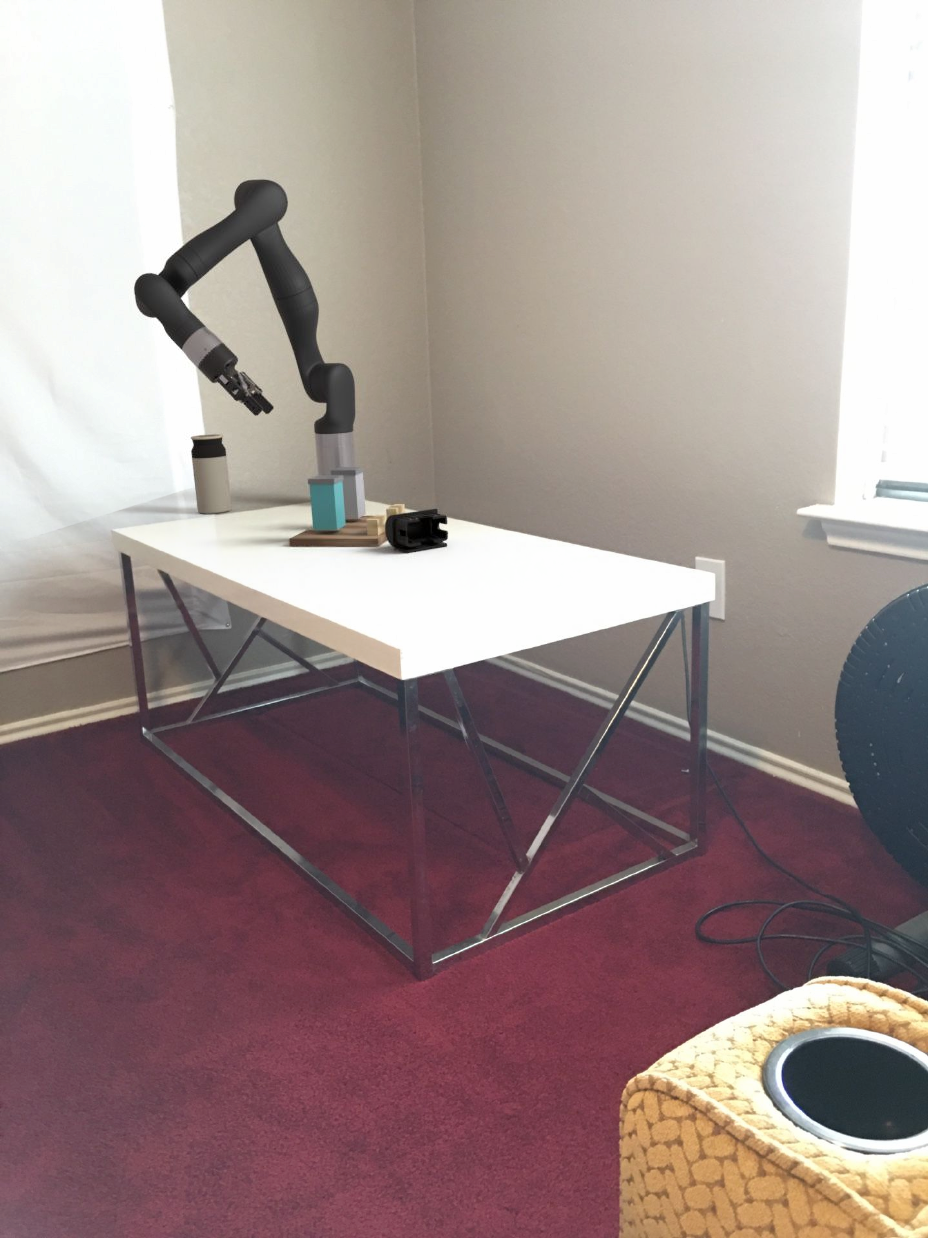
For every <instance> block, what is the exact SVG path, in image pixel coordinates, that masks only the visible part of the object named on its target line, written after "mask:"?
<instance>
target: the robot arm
mask: <svg viewBox="0 0 928 1238" xmlns="http://www.w3.org/2000/svg"><path fill="white" fill-rule="evenodd" d="M233 205H234V208H235V209H234V210H233V211H232V212H231V213H230V214H228V215H227V216H226V217H224V218H223V219H222V220H220V221H218V222H217V223H216V224H214V225H212V226H210V227H209V228H207V229H205V230H204V231H202V232H200V233H199V234H197V235H195V236H194V237H193V238H191V239H189V240H188V241H187V242H186V243H185V244H183V245H182V246H181V247H180V248H179V249H177V250H176V251H175V252H174V253H173V254H172V255H171V256H169V257H168V259H167V260H166V261H165V263H164V265H163V266H164V267H163V269H162V270H161V271H160V272H159V273H158V274H157V273H153V272H147V273H143V274H141V275H140V276H139V277H137V279H136V280H135V283H134V286H133V294H134V298H135V299H134V300H135V304H136V307H137V309H138V310H139V312H140V313H141V314H142V315H144V316H145V317H147V318H151V319H153V318H155V319H157V321H158V322H159V323H160V324H161V325H162V327H163V329H164V332H165V333H166V334H167V336H168V337H169V338H170V339H171V341H172V342H173V343H174V344H175V345H176V346H177V347H178V348H179V349H180V350H181V351H182V352H183V353H184V354H185V356H186V357H187V358H188V360H189V361H190V362H191V363H192V364H193V365H194V366H195V367H196V368H197V369H198V370H199V371H200V372H201V373H202V374H203V375H204V376H205V378H207V380H209V381H210V382H211V383H212V384H217V383H218V384H219V385H220V387H222V388H223V389H224V390H225V391H226V392H227V393H228V394H229V395H230V397H232V398H233V400H234V401H236V402H239V403H240V404H243V405H244V406H245V407H246V408H247V410H249V411H250V413H252V414H253V415H254V416H260V414H261V413H262V412H263V413H264V414H265V415H269V414H270V413H271V412H272V411H273V410H274V405H273V404H272V403H271V402H270V400H268V399H267V398H266V396H264V395H263V388H260V387H259V385H257V384H256V383H255V381H253V380H252V379H251V377H249V376H248V374H246V372H245V371H240V372H239V371H238V370H237V369H236V368H235V367H236V366H237V365H238V361H239V358H238V356H237V355H236V354H235V353H234V352H233V351H232V350H231V349H230V348H229V347H228V346H227V345H226V343H224V342H223V341H222V339H221V338H219V336H218V335H216V334H215V333H214V332H213V331H211V330H210V329H209V328H208V327H207V326H206V325H205V324H204V323H203V322H202V321H201V320H200V319H199V317H197V316H196V315H195V314H194V313H193V312H192V311H191V310H190V309H189V307H188V306H187V305H186V304H185V302H184V300H183V299H182V297H184V295H185V294H186V293H187V292H188V290H189V289H190V288H191V287H192V286H193V285H195V284H196V283H198V281H200V280H201V279H202V278H204V276H206V275H207V274H208V273H209V272H210V271H211V270H212V269H213V268H215V267H216V266H217V265H218V264H219V263H221V262H222V261H223V260H224V259H226V257H228V256H229V255H230V254H231V253H233V252H234V251H235V250H237V249H238V248H239V247H241V246H242V245H243V244H245V243H246V242H248V241H250V243H251V245H252V247H253V249H254V251H255V253H256V256H257V259H258V261H259V264H260V268H261V269H262V272H263V275H264V278H265V280H266V283H267V285H268V288H269V292H270V293H271V296H272V299H273V302H274V305H275V307H276V310H277V312H278V314H279V317H280V319H281V322H282V323H283V324H282V325H283V326H284V329H285V331H286V335H287V338H288V340H289V343H290V346H291V349H292V353H293V355H294V359H295V362H296V365H297V368H298V373H299V377H300V381H301V383H302V384H301V385H302V386H303V389H304V391H305V394H306V395H307V396H308V398H309V399H310V400H311V401H312V402H314V403H319V404H326V405H325V408H326V409H325V413H324V414H323V416H322V417H320V418H318V419H316V420H315V421H314V423H313V429H314V441H315V442H314V443H315V451H316V453H315V454H316V465H317V466H316V467H317V475H331V470H333V469H336V468H338V467H357V462H356V461H357V460H356V450H355V449H356V448H355V434H354V422H355V419H356V384H355V383H356V382H355V377H354V374H353V372H352V370H351V368H350V367H349V366H348V365H347V364H345V363H342V362H325V361H324V359H323V356H322V354H321V351H320V348H319V344H318V341H317V331H318V330H317V329H318V325H319V324H318V323H319V317H320V315H319V314H320V308H319V307H320V305H319V302H318V299H317V298H318V297H317V296H316V294H315V290H314V287H313V285H312V282H311V280H310V277H309V275H308V274H307V272H306V270H305V269H304V267H303V266H302V264H301V262H300V261H299V260H298V258H297V257H296V256H295V254H294V253H293V252H292V250H291V249H290V247H289V246H288V244H287V242H286V240H285V238H284V236H283V234H282V231H281V227H280V225H279V222H280V221H281V220H282V219H283V218H284V217H285V215H286V213H287V210H288V205H289V201H288V195H287V193H286V191H285V189H284V188H283V187H282V185H280V184H279V183H278V182H277V181H274V180H270V179H264V178H263V179H248V180H244V181H243V182H241V183H239V185H238V186H237V187H236V189H235V191H234V196H233Z"/></svg>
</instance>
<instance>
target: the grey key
mask: <svg viewBox="0 0 928 1238" xmlns="http://www.w3.org/2000/svg"><path fill="white" fill-rule="evenodd" d="M364 472H365V469H364V466H356V467H338V468H336V469H333V470H331V475H343V479H344V480H343V481H342V483H343V497H344V510H345V518H360V517H362V516H366V515H367V511H366V510H367V509H366V498H365V482H364Z"/></svg>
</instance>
